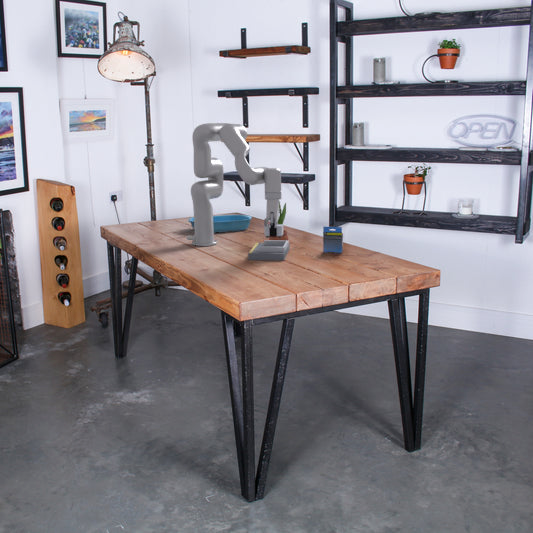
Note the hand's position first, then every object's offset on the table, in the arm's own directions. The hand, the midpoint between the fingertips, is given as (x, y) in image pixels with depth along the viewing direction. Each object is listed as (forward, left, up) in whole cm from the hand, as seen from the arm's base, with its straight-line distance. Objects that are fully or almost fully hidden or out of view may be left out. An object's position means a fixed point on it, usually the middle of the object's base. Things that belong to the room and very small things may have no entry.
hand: (273, 235), depth 294 cm
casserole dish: (-38, +62, -10) cm, 74 cm away
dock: (-2, 0, -9) cm, 9 cm away
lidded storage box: (0, 0, -1) cm, 1 cm away
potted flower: (-2, +28, -9) cm, 30 cm away
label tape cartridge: (+27, +7, -9) cm, 29 cm away
